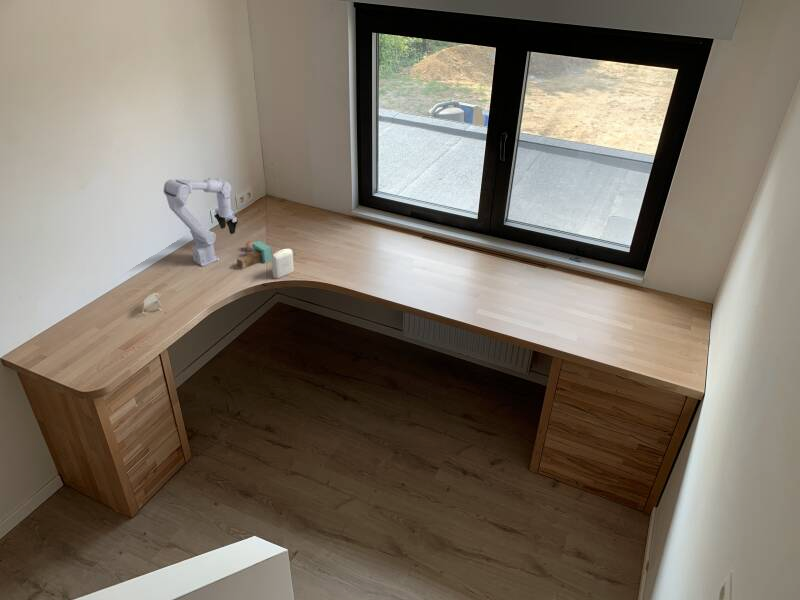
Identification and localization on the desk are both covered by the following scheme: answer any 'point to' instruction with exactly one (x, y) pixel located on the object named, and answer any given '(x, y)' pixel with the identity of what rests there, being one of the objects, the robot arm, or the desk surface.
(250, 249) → the bead
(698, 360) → the desk surface
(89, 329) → the desk surface
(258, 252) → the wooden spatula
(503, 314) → the desk surface
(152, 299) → the origami figure
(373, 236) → the desk surface
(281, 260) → the photo printer
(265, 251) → the teal angular block
